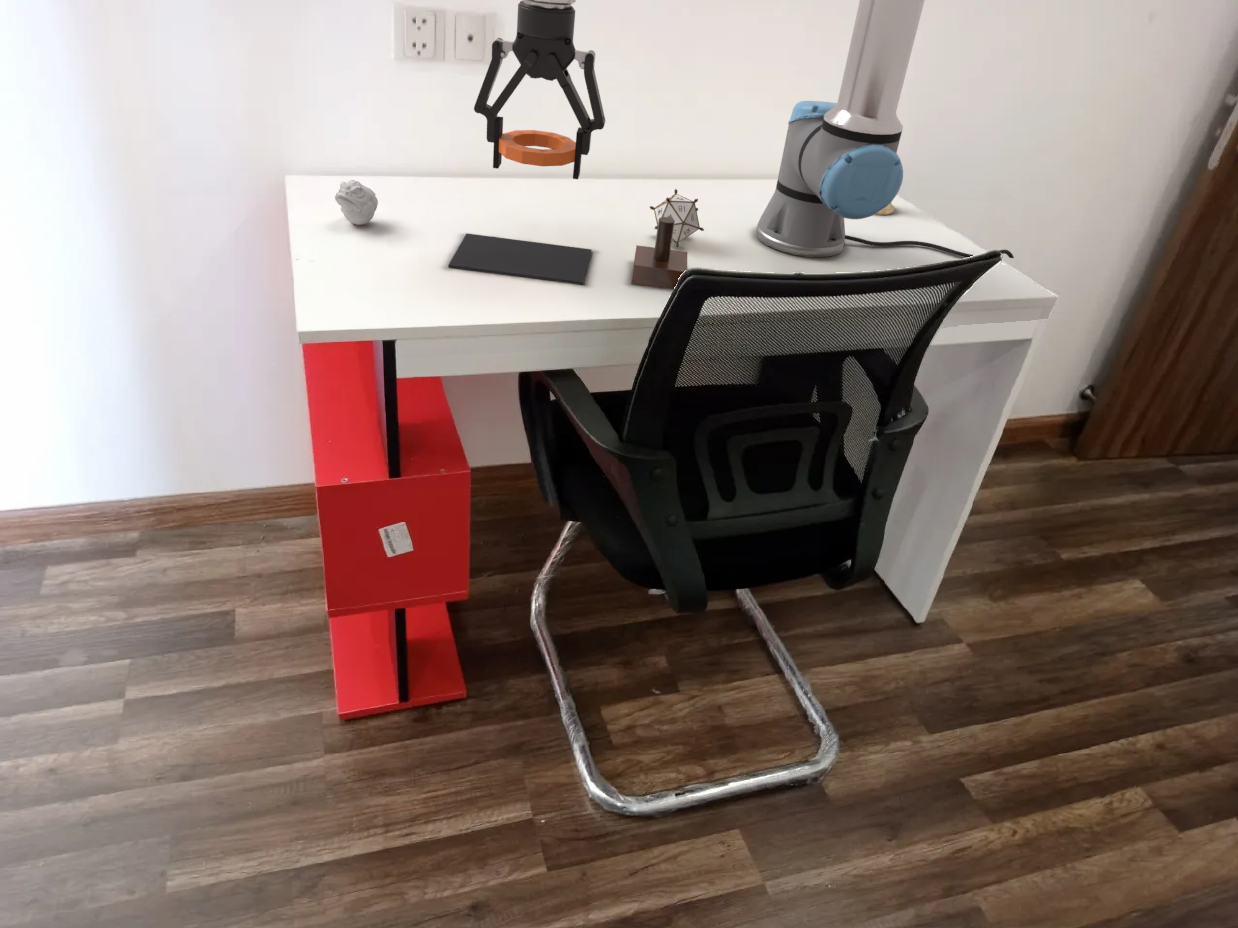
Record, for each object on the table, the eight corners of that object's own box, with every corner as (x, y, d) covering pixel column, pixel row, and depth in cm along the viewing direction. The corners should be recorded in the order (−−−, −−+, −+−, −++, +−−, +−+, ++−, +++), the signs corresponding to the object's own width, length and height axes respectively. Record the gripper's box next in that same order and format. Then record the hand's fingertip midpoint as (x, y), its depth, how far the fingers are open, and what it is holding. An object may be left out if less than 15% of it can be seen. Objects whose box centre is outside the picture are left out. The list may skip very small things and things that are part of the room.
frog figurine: (327, 225, 141) (324, 181, 137) (357, 213, 147) (354, 170, 143) (359, 235, 139) (356, 190, 136) (387, 223, 145) (386, 179, 141)
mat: (591, 251, 144) (591, 249, 144) (583, 284, 133) (583, 282, 133) (466, 235, 144) (466, 233, 144) (448, 267, 133) (448, 264, 133)
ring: (579, 148, 134) (580, 136, 133) (571, 170, 125) (572, 157, 124) (506, 139, 134) (507, 126, 133) (493, 160, 125) (493, 146, 124)
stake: (684, 269, 142) (693, 214, 137) (684, 290, 136) (693, 233, 131) (634, 263, 142) (641, 207, 137) (631, 283, 136) (638, 226, 130)
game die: (665, 266, 152) (645, 226, 144) (657, 231, 157) (636, 190, 149) (716, 246, 150) (698, 204, 142) (706, 211, 155) (688, 169, 147)
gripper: (636, 10, 122) (618, 173, 134) (464, -13, 121) (462, 153, 134) (633, 19, 115) (614, 190, 128) (452, -6, 115) (451, 168, 128)
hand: (536, 171), depth 131 cm, fingers closed on ring, 11 cm apart
